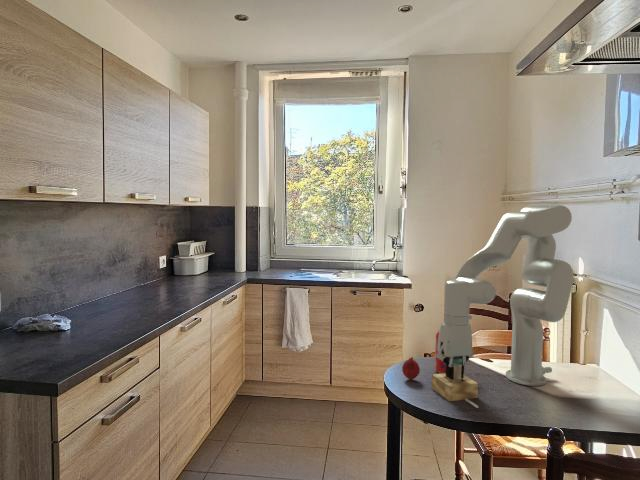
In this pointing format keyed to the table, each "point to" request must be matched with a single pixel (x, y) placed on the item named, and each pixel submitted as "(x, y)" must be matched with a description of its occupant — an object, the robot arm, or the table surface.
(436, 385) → the wooden block
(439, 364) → the soda can
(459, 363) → the green capped spice bottle
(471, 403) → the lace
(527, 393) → the table surface
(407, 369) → the onion
